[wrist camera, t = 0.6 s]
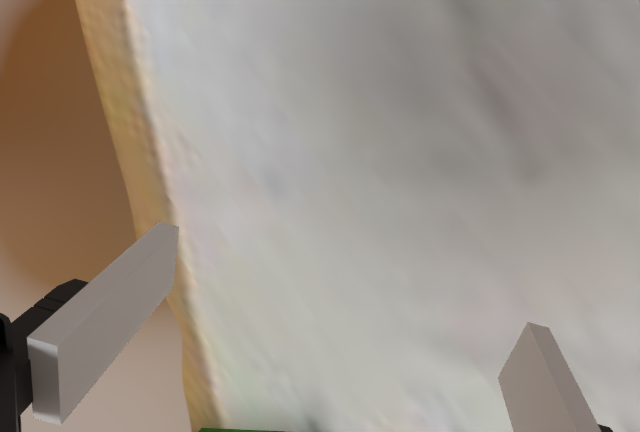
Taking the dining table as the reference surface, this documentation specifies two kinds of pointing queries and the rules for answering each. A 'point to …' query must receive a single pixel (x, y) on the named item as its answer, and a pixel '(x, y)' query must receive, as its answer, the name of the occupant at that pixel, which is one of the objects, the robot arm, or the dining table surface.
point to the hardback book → (231, 430)
